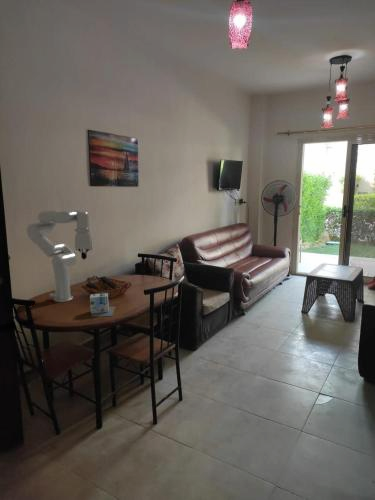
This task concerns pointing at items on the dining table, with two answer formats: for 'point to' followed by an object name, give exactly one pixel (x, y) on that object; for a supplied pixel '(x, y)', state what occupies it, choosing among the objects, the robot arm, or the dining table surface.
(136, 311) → the dining table surface
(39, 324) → the dining table surface
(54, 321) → the dining table surface
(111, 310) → the mat
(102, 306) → the light bulb box
